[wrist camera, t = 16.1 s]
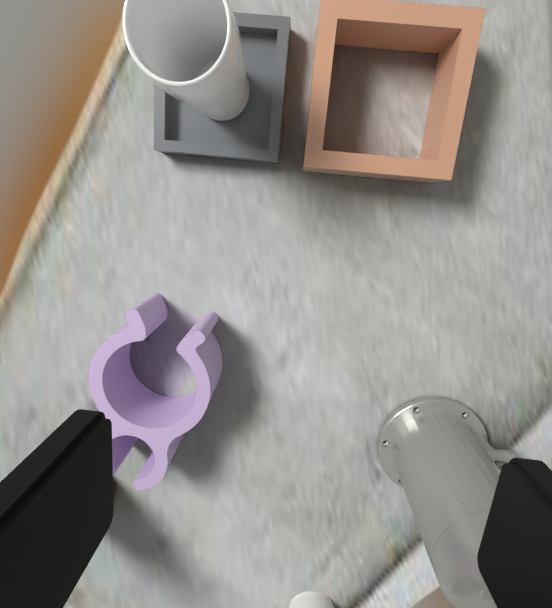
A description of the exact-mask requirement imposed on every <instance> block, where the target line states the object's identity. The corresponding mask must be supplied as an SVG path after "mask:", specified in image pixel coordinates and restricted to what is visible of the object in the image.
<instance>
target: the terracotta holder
mask: <svg viewBox="0 0 552 608" xmlns="http://www.w3.org/2000/svg"><path fill="white" fill-rule="evenodd" d="M484 13H485V8H474V7H461V6H449V5H436V4H424V3H411V2H398V1H386V0H321V1H320V10H319V19H318V28H317V37H316V47H315V57H314V66H313V76H312V86H311V95H310V105H309V115H308V125H307V134H306V144H305V154H304V163H303V171H307V172H318V173H329V174H340V175H351V176H361V177H372V178H383V179H394V180H405V181H415V182H426V183H434V182H442V181H449V180H452V175H453V170H454V165H455V160H456V155H457V150H458V145H459V140H460V134H461V129H462V124H463V119H464V114H465V109H466V104H467V99H468V94H469V89H470V84H471V79H472V74H473V69H474V64H475V59H476V54H477V49H478V43H479V38H480V33H481V28H482V23H483V18H484ZM334 45H343V46H355V47H367V48H379V49H391V50H403V51H415V52H427V53H438V59H437V64H436V70H435V76H434V82H433V87H432V93H431V99H430V104H429V110H428V116H427V121H426V127H425V133H424V139H423V144H422V150H421V156H420V159H415V158H404V157H393V156H382V155H371V154H360V153H349V152H338V151H327V150H323V141H324V132H325V123H326V115H327V106H328V97H329V88H330V80H331V71H332V62H333V53H334Z"/></svg>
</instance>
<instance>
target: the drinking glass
mask: <svg viewBox="0 0 552 608" xmlns="http://www.w3.org/2000/svg"><path fill="white" fill-rule="evenodd" d="M122 22H123V33H124V38H125V41H126V45H127V47H128V50H129V52H130V54H131V56H132V58H133V59H134V61H135V62H136V64H137V65H138V66H139V67H140V69H141V70H142V71H143V72H144V73H145V74H146V75H147V76H148V77H149V78H150V79H151V80H152V81H153V82H154V83H155V84H156V85H158V86H159V87H160V88H161V89H162V90H164V91H165V92H166V93H168V94H169V95H171V96H172V97H174V98H175V99H177V100H179V101H181V102H183V103H185V104H187V105H189V106H191V107H193V108H195V109H197V110H199V111H201V112H203V113H204V114H205V115H206V116H208V117H209V118H211V119H214V120H218V121H227V120H231V119H233V118H235V117H237V116H238V115H239V114H240V113H241V112H242V111H243V110H244V108H245V107H246V105H247V102H248V99H249V92H250V89H249V82H248V78H247V76H246V69H245V61H244V53H243V46H242V40H241V36H240V32H239V28H238V25H237V22H236V19H235V16H234V14H233V11H232V9H231V6H230V4H229V2H228V0H125V3H124V8H123V18H122Z"/></svg>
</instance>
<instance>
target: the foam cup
mask: <svg viewBox="0 0 552 608" xmlns="http://www.w3.org/2000/svg"><path fill="white" fill-rule="evenodd" d="M289 608H334V606H333V604H332V601H331V600H330V599H329V598H328V597H326V596H325V595H324V594H321V593H318V592H314V591H311V592H303V593H300V594H298V595H296V596H295V597H294V598H293V599H292V601H291V602H290V606H289Z"/></svg>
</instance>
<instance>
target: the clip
mask: <svg viewBox="0 0 552 608" xmlns="http://www.w3.org/2000/svg"><path fill="white" fill-rule="evenodd" d="M125 316H126V319H127V321H128V323H129V324H127V325H126V326H125V327H123V328H122V329H120V330H119V331H118V332H116V333H115V334H114V335H112V336H111V337H109V338H108V339H107V340H106V341H104V342H103V343H102V344H101V346H100V347H99V348H98V349H97V351H96V352H95V354H94V356H93V358H92V361H91V364H90V369H89V387H90V391H91V395H92V397H93V400H94V402H95V404H96V406H97V407H98V409H99V411H100V412H103V413H104V414H105V418H106V419H110V420H111V423H112V461H113V475H114V474H115V472H116V471H117V469H118V468H119V466H120V465H121V463H122V462H123V460H124V459H125V457H126V456H127V454H128V453H129V451H130V450H131V448H132V447H133V445H134V444H135V442H136V441H137V439H138V438H139V439H141V440H143V441H144V442H146V443H147V444H148V445H149V447H150V448H151V449H152V453H151V454H150V456H149V458H148V460H147V461H146V463H145V465H144V467H143V468H142V470H141V472H140V473H139V475H138V477H137V479H136V480H135V482H134V486H135V488H136V489H137V490H139V491H141V490H146V489H149V488H151V487H153V486H155V485H156V484H157V483H158V482H160V480H161V479H162V478H163V477H164V475H165V473H166V471H167V469H168V467H169V465H170V463H171V460H172V458H173V456H174V454H175V452H176V450H177V448H178V446H179V444H180V442H181V440H182V438H183V436H184V433H186V432H187V431H189V430H190V429H191V428H193V427H194V426H195V425H196V424H197V423H198V422H199V421H200V419H201V418H202V417H203V415H204V413H205V411H206V409H207V407H208V404H209V402H210V400H211V398H212V395H213V393H214V391H215V388H216V386H217V384H218V382H219V379H220V376H221V373H222V366H223V359H222V352H221V349H220V346H219V343H218V341H217V339H216V337H215V336H214V334H213V333H212V329H213V328H214V326H215V325H216V323H217V322H218V320H219V317H218V315H217V314H216V313H215V312H209V313H208V314H206V315H205V316H203V317H202V318H200V319H199V320H198V321H197V322H196V324H195V325H194V326H193V327H192V328H191V330H190V331H189V332H188V333H187V334H186V335H185V337H184V338H183V339H182V340H181V342H180V343H179V345H178V346H177V348H176V350H177V352H178V353H179V354H180V355H181V356H182V357H183V358H184V359H185V360H186V362H187V363H188V364H189V366H190V367H191V369H192V371H193V374H194V377H195V380H196V388H197V390H196V391H195V392H193V393H191V394H189V395H186V396H181V397H167V396H162V395H159V394H156V393H154V392H152V391H151V390H149V389H148V388H146V387H145V386H144V385H143V384H142V383H141V382H140V381H139V380H138V378H137V377H136V375H135V374H134V372H133V370H132V367H131V363H130V348H131V344H132V342H136V341H143V340H144V339H145V338H146V337H148V336H149V335H150V334H151V333H152V332H153V331H154V330H155V329H156V328H158V327H159V326H160V325H161V324H162V323H163V322H164V321H165V320H166V319H167V318H168V310H167V307H166V304H165V302H164V299H163V297H162V295H161V294H159V293H156V294H153V295H151V296H150V297H148V298H147V299H145V300H144V301H142V302H141V303H139V304H137V305H136V306H134V307H133V308H131V309H130V310H128V311H127V312H126V314H125Z"/></svg>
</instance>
